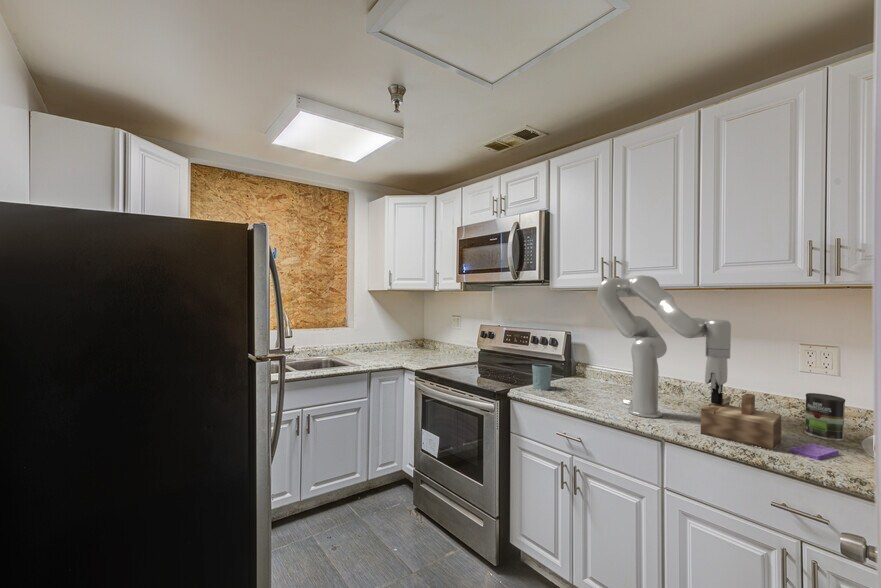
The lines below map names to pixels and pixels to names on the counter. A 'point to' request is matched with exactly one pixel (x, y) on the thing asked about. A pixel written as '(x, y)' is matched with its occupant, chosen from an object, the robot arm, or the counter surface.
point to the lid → (748, 412)
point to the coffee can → (825, 416)
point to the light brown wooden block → (726, 399)
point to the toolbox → (739, 429)
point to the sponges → (814, 451)
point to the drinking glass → (541, 376)
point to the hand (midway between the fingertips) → (716, 403)
